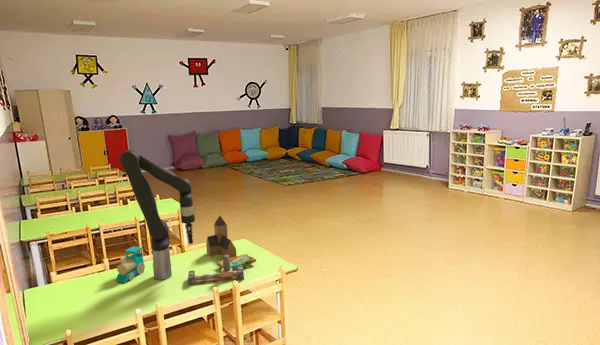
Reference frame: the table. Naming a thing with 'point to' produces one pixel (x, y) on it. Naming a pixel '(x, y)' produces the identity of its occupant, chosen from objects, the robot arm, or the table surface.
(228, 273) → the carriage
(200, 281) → the rail bed
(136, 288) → the table surface
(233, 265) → the puzzle game
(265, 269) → the table surface
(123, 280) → the toy train
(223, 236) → the toy building blocks
